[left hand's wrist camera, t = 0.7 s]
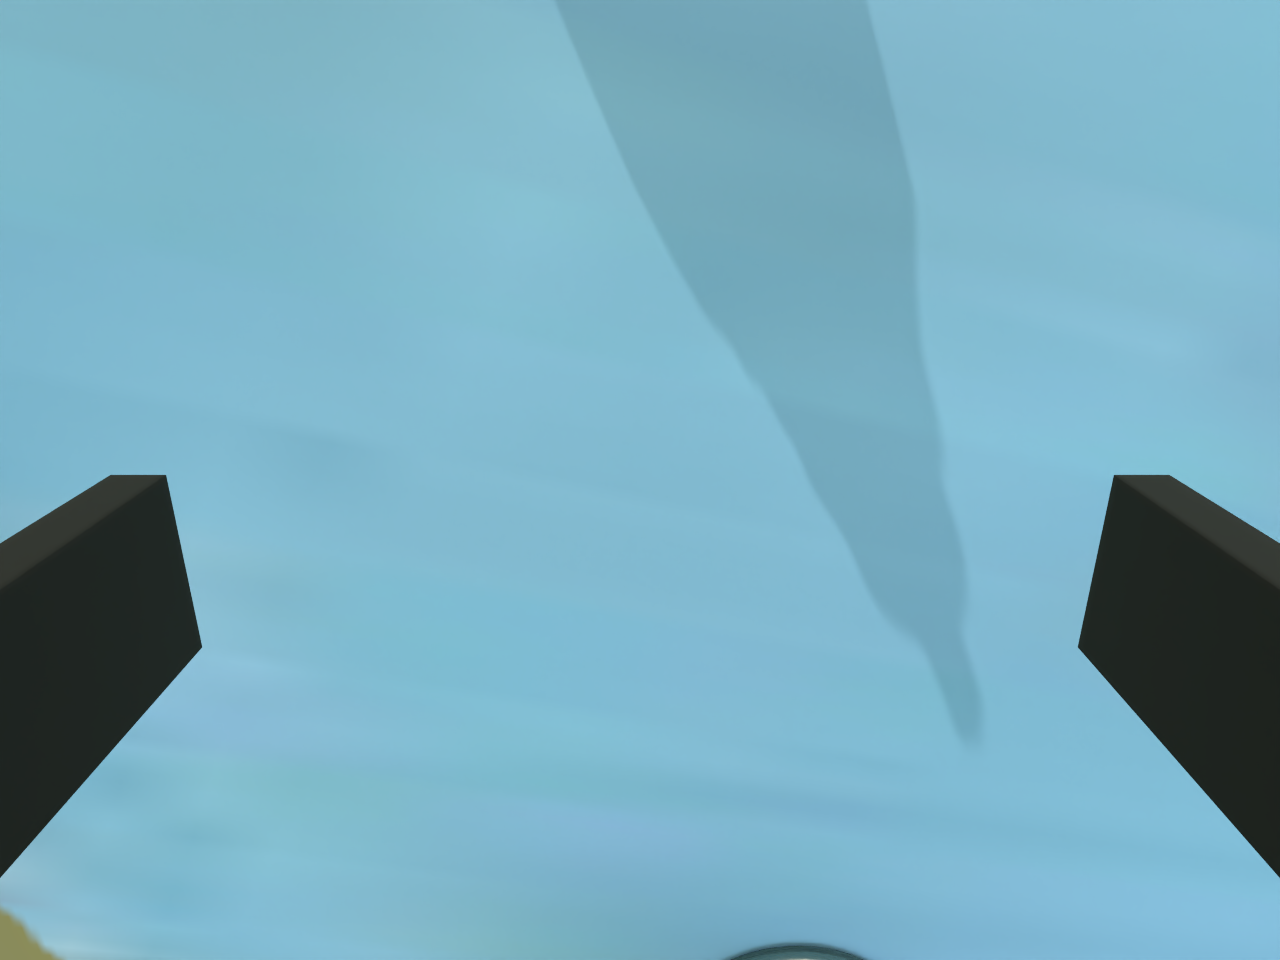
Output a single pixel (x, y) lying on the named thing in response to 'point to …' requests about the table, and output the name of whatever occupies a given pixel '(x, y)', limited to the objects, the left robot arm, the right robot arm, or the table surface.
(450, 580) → the table surface
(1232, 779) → the left robot arm
